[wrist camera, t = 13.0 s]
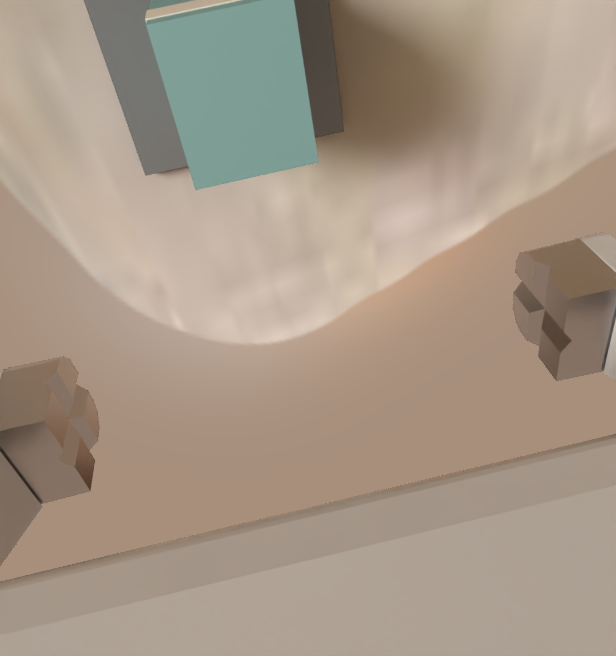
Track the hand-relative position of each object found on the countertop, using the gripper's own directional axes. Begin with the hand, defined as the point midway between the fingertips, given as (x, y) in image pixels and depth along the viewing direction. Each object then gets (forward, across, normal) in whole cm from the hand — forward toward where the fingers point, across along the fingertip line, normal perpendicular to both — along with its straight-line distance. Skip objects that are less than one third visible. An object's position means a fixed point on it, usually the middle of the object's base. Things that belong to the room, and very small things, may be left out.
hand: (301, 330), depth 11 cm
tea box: (+23, 0, 0) cm, 23 cm away
